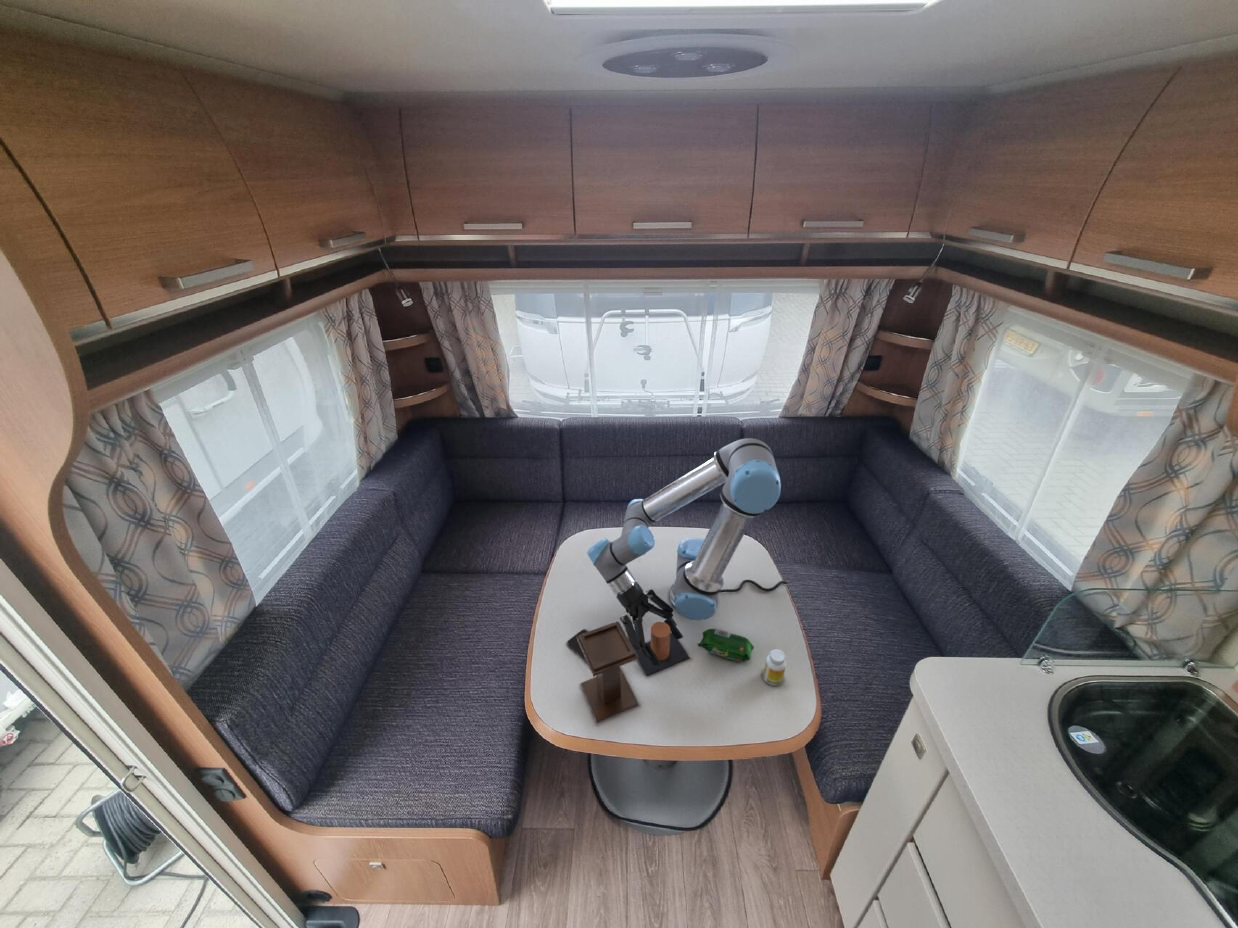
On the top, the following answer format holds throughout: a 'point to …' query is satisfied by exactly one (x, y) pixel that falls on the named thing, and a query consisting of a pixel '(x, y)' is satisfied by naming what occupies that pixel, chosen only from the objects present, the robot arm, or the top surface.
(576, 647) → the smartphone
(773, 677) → the supplement bottle
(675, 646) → the mat
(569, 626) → the top surface
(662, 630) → the tin
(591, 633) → the stand
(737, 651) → the snack package
